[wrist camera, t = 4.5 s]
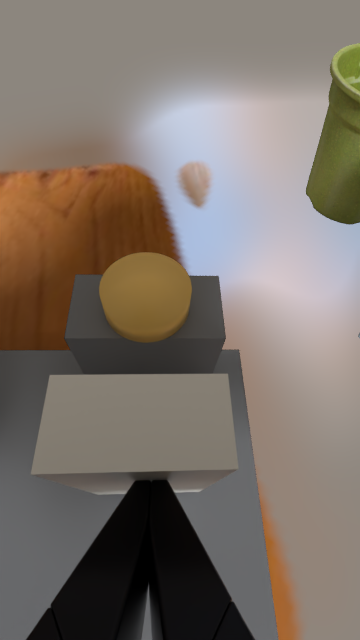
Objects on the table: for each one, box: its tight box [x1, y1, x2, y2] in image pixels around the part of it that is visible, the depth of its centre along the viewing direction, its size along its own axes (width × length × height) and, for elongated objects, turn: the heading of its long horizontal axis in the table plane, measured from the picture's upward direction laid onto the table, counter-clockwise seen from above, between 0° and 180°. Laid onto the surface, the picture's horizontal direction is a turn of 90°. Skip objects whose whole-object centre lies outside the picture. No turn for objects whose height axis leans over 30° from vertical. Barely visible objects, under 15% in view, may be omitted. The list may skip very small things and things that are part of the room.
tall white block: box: [31, 374, 239, 495], centre depth 10 cm, size 2×4×8 cm, turn 92°
